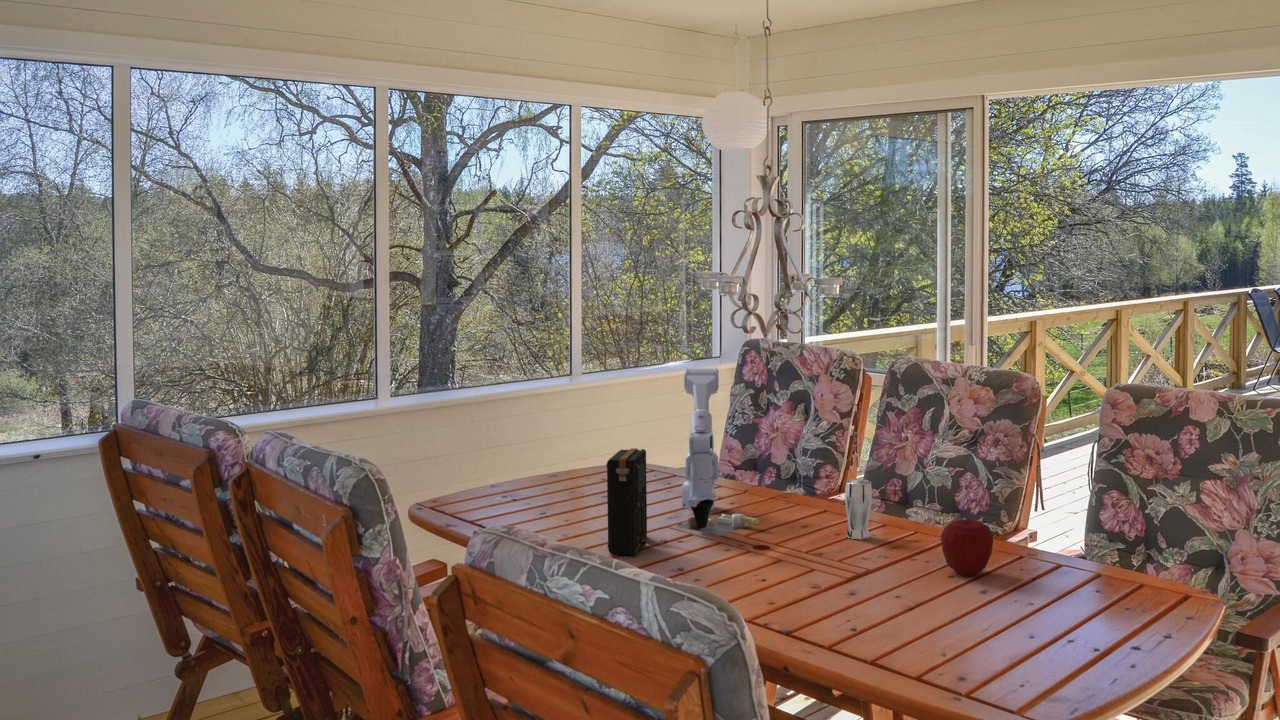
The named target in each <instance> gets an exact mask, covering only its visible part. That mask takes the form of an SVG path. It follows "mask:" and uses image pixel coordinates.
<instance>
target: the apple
mask: <svg viewBox="0 0 1280 720" xmlns="http://www.w3.org/2000/svg"><path fill="white" fill-rule="evenodd" d="M940 538H941V539H940V540H941V548H942V549H941V550H942V554H943V556H944V558H945V559H944V560H945V563H946V564H947V566H948V567H949V568H951V569H952V570H953V571H954V572H955V573H957V574H959V575H962V576H965V577H966V576H969V577H971V576H977V575H978V574H979V573H980V572H982V571H983V570H985V568H986V567H987V565H988V562H989V560H990V558H991V555H992V554H993V544H994V539H993V535H992V531H991V529H990V528H989V527H988V526H986V524H985V523H984V522H982V521H979V520H976V519H969V517H968V518H967V519H957V520H953V521H951V522H949V523H948V524H947V525H945V526H944V528H943V530H942V533H941V536H940Z"/></svg>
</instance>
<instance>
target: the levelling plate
mask: <svg viewBox="0 0 1280 720" xmlns="http://www.w3.org/2000/svg"><path fill="white" fill-rule="evenodd" d="M708 518H714V519H715V520H716V524H715V526H710V525H706V527H705V528H689V527H688V522H685V523H683V524H680V525H676V526H675V527H677V528H681V529H686V530H690V531H695V532H701V533H705V534H711V535H714V536H715V535H716V536H719V537H720V536H724V535H726V534H729V533H733V532H735V531H739V530H741V529H743V528H747V527H748V526H750V524H747V523H745V527H741V528H737V527H732V523H731V524H726V523H721V522H718V517H712V516H708Z"/></svg>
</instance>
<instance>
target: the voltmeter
mask: <svg viewBox="0 0 1280 720" xmlns="http://www.w3.org/2000/svg"><path fill="white" fill-rule="evenodd" d="M606 478H607V479H606V482H607V483H606V486H607V487H606V489H607V490H606V491H607V493H606V494H607V495H606V496H607V549H608V553H609V554H610V555H618V556H619V555H621V556H623V555H624V556H631V557H636V556H637V555H638V554H639V552H640V551H641V550H642V548H643V547H644V545H645V544H646V541H644V540H645V539H647V537H648V522H647V521H648V516H647V515H648V511H647V508H648V507H647V504H648V503H647V500H648V499H647V497H648V496H647V495H648V494H647V451H646V449H638V448H635V447H634V448H633V447H631V448H629V449H620V450H619V451H617V452H616V453H615V454H614V455H612V456H611V457H610V458H609V459H608V460H607V463H606Z"/></svg>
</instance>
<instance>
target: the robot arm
mask: <svg viewBox="0 0 1280 720" xmlns="http://www.w3.org/2000/svg"><path fill="white" fill-rule="evenodd" d="M719 377H720V376H719V369H718V368H717V367H715V368H688V367H685V369H684V370H683V384H684V385H683V388H684V391H685V394H687V395H691V396H692V398H693V403H694V412H693V413H692V414H690V415H691V416H690V434H689V436H688V453H686V455H685V462H684V464H685V469H684V473H685V474H684V475H685V476H684V477H685V481H684V482H683V483H682V485H681V490H680V491H681V494H680V495H681V496H680V499H681V508H684V509H688V510H691V511H692V514H694V516H695V520H696V524H697V527H698V528H705V527H706V525H707V521H708V517H710V511H713V510H715V498H717V493H715V482H718V480H719V474H720V473H719V472H720V471H719V470H720V469H719V467H720V466H719V462H720V461H719V456H718V454H717V453H716V452H715V451H714V447H715V446H714V444H715V443H714V442H715V441H714V433H713V415H712V414H711V413H710V412H709V411H710V409H709V408H710V406H709V403H710V402H709V401H710V398H711V397H712V395H715V394H718V391H719V383H720V381H719Z"/></svg>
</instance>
